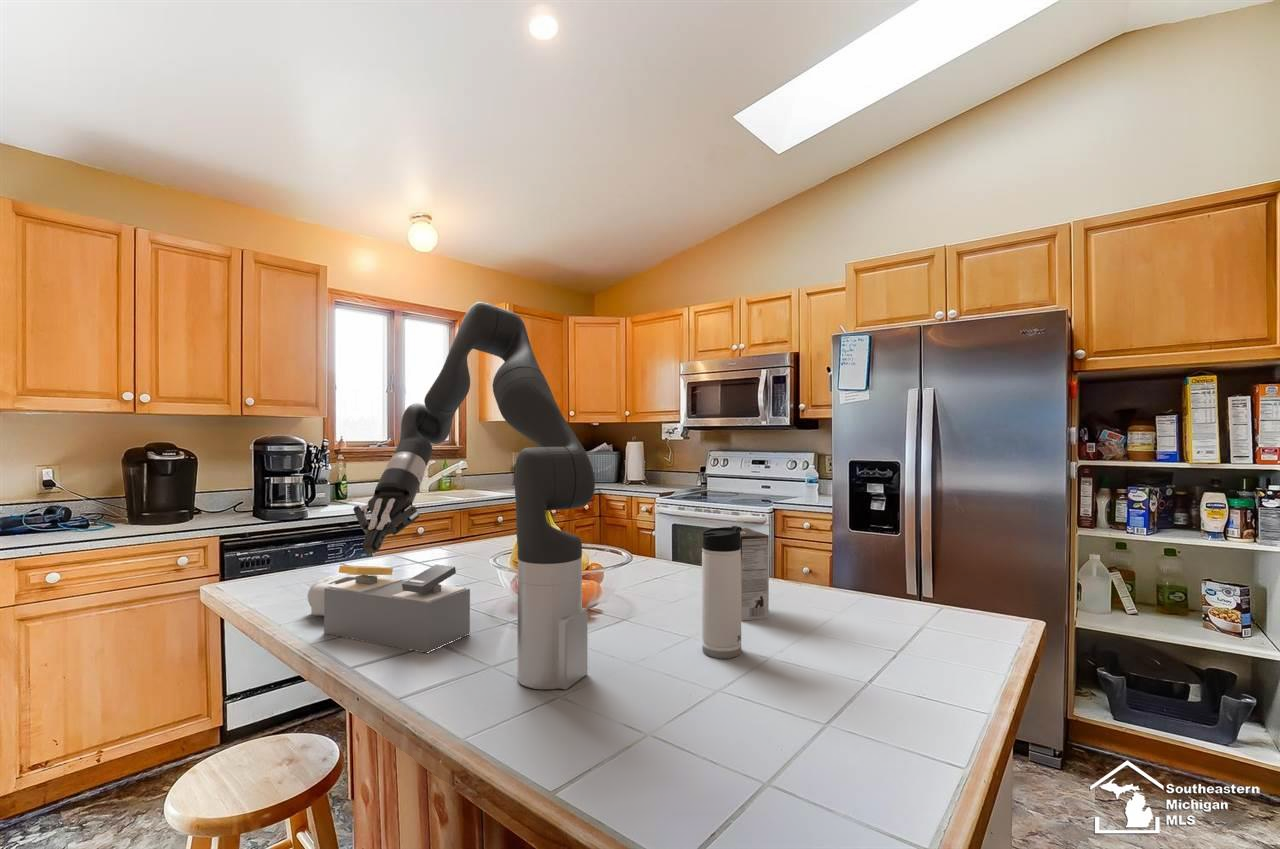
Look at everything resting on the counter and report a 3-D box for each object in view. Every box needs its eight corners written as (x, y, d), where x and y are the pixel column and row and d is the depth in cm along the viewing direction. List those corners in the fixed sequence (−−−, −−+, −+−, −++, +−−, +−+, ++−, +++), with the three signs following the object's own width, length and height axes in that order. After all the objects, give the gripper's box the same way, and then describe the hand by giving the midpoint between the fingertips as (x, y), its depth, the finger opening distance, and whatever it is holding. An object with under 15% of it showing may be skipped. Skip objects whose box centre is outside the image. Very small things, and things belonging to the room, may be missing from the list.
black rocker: (456, 573, 104) (454, 565, 104) (422, 593, 97) (421, 585, 97) (436, 570, 106) (435, 563, 106) (402, 590, 99) (401, 582, 98)
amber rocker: (391, 574, 110) (393, 567, 110) (356, 574, 103) (357, 566, 103) (374, 572, 112) (375, 565, 112) (338, 572, 105) (340, 564, 105)
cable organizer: (296, 585, 113) (352, 588, 111) (340, 570, 125) (391, 572, 123) (296, 620, 113) (352, 623, 111) (340, 601, 125) (391, 604, 123)
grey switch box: (469, 634, 104) (469, 580, 104) (427, 653, 95) (428, 594, 95) (370, 617, 114) (371, 568, 114) (323, 633, 104) (324, 580, 105)
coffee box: (719, 608, 120) (718, 528, 120) (747, 605, 122) (747, 527, 122) (739, 621, 111) (739, 535, 111) (770, 618, 113) (769, 533, 113)
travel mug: (750, 655, 94) (750, 529, 94) (714, 661, 91) (713, 531, 92) (730, 642, 99) (730, 523, 100) (695, 647, 97) (695, 526, 97)
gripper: (363, 466, 118) (325, 538, 105) (427, 466, 117) (397, 538, 104) (377, 491, 123) (342, 562, 111) (438, 491, 122) (410, 562, 110)
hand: (369, 550), depth 107 cm, fingers closed
